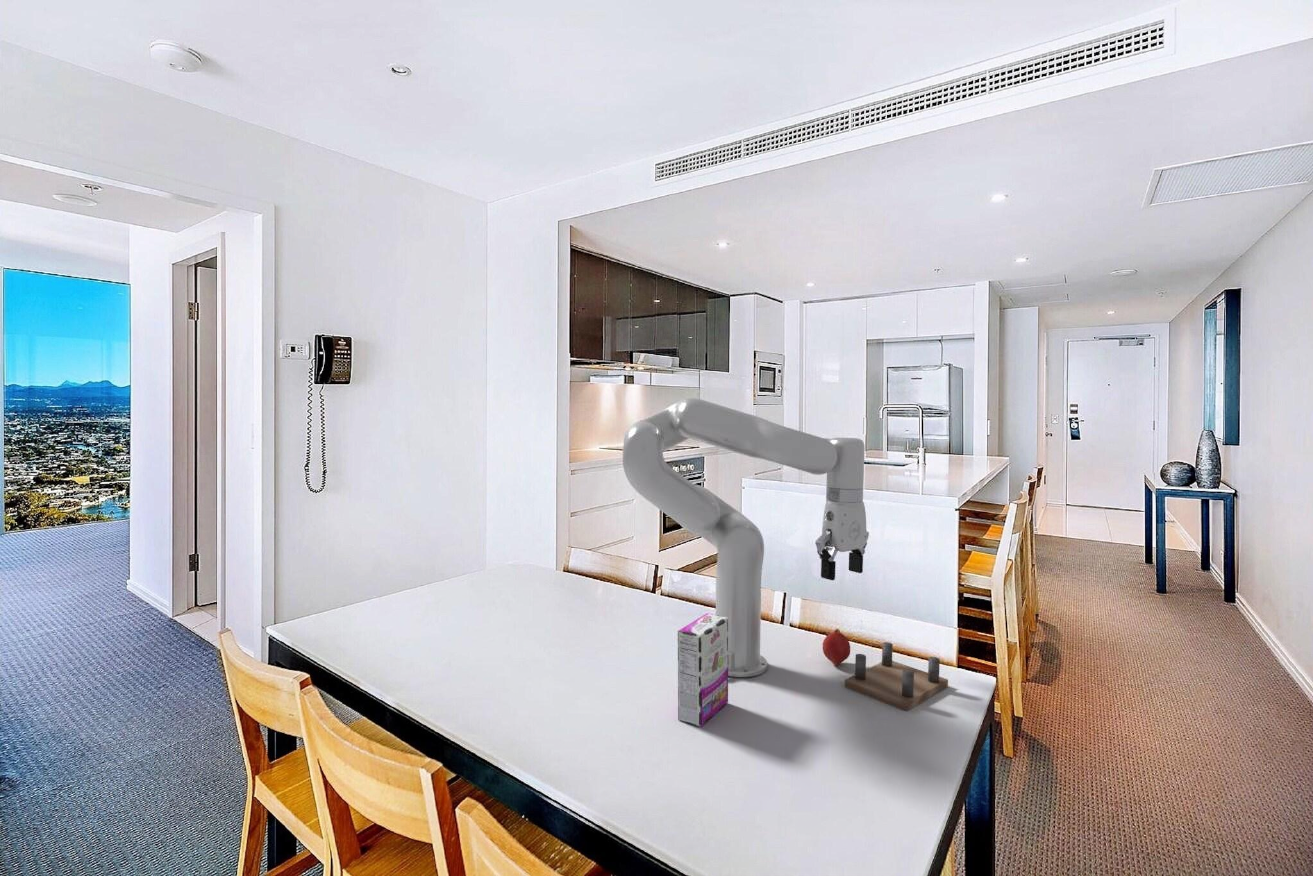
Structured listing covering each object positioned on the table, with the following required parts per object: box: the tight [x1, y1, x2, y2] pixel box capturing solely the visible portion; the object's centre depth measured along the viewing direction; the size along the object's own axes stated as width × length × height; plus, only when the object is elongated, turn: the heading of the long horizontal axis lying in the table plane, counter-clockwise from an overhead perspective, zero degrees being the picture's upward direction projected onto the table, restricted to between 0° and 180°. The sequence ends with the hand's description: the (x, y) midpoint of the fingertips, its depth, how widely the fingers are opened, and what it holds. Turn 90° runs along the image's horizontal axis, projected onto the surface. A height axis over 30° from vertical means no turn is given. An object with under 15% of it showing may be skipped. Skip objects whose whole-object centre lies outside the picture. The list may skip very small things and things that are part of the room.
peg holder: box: [844, 641, 949, 712], centre depth 127 cm, size 16×13×6 cm
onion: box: [822, 628, 851, 666], centre depth 138 cm, size 6×6×8 cm
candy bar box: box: [677, 613, 729, 728], centre depth 116 cm, size 11×5×16 cm, turn 148°
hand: (842, 575), depth 137 cm, fingers open, 9 cm apart
